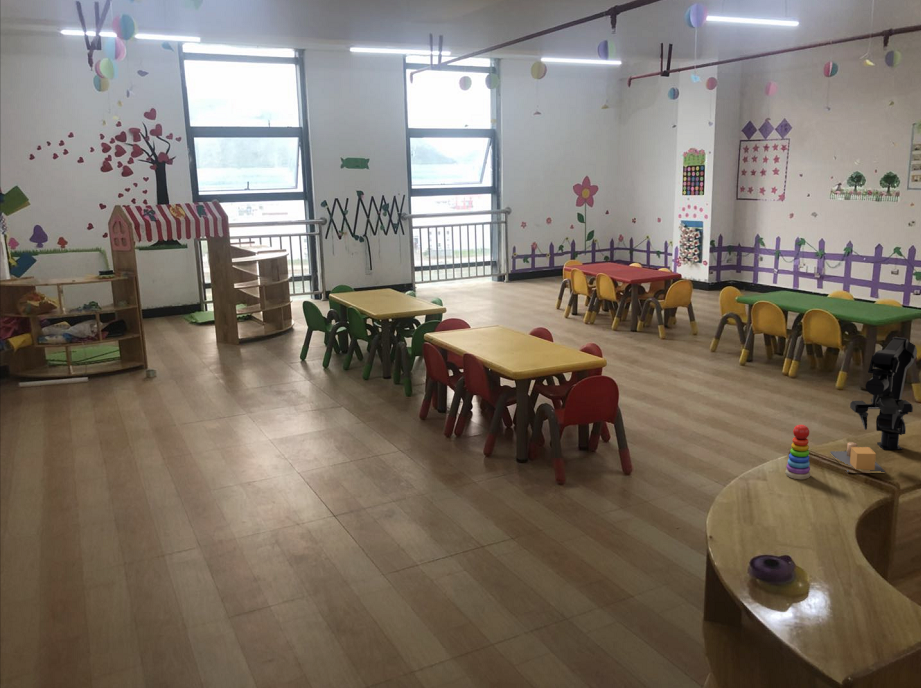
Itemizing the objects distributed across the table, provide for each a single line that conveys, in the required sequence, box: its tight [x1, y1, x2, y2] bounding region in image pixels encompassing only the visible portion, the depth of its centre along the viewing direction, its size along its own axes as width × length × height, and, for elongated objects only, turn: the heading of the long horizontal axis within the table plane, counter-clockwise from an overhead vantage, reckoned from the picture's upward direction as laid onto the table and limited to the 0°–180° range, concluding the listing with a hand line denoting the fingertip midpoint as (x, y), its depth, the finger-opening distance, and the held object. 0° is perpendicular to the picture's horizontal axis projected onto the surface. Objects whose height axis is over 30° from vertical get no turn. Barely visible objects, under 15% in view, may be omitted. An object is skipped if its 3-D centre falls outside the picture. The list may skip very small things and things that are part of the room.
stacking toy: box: [785, 424, 811, 480], centre depth 255 cm, size 8×8×19 cm
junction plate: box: [829, 441, 886, 473], centre depth 263 cm, size 18×12×6 cm, turn 172°
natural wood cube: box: [850, 446, 877, 470], centre depth 258 cm, size 6×6×6 cm
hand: (879, 429), depth 263 cm, fingers open, 9 cm apart
